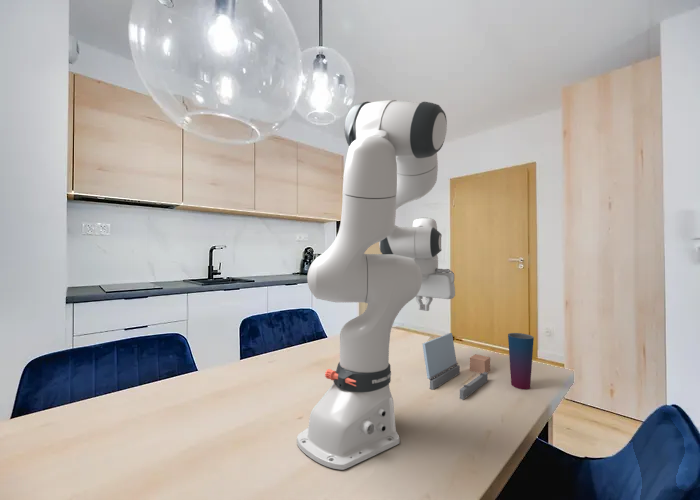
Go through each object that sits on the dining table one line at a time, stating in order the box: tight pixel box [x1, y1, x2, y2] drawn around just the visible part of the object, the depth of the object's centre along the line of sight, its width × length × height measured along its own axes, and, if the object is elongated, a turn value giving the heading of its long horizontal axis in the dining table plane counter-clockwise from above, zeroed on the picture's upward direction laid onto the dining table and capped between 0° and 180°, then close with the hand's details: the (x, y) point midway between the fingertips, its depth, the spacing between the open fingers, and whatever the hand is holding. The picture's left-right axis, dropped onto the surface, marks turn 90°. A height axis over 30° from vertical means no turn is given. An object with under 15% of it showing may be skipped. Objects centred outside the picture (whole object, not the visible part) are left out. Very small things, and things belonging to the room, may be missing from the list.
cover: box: [422, 332, 459, 381], centre depth 100 cm, size 18×10×2 cm
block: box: [469, 353, 491, 374], centre depth 108 cm, size 5×5×4 cm
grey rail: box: [429, 364, 489, 401], centre depth 95 cm, size 18×10×3 cm, turn 137°
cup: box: [507, 332, 535, 390], centre depth 95 cm, size 7×7×15 cm
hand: (423, 310), depth 104 cm, fingers closed
